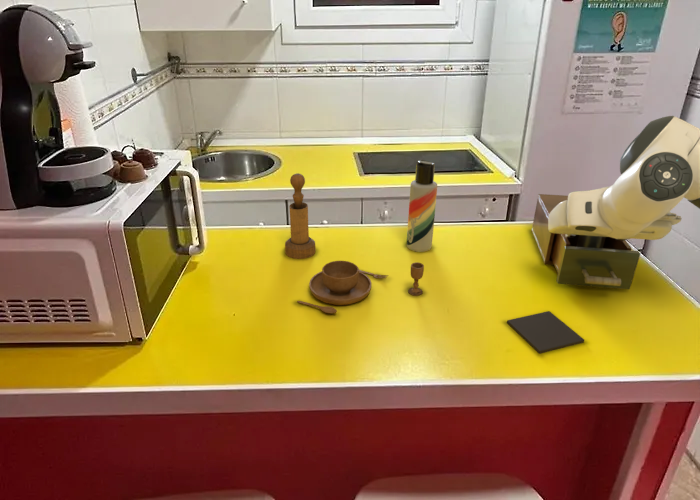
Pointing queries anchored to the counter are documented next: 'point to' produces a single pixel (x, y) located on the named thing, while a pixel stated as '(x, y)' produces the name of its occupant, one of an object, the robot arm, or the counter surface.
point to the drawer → (594, 263)
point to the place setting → (349, 284)
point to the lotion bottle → (422, 208)
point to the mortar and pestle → (299, 223)
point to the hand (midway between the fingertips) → (593, 235)
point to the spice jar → (591, 241)
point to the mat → (545, 332)
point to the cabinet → (545, 224)
